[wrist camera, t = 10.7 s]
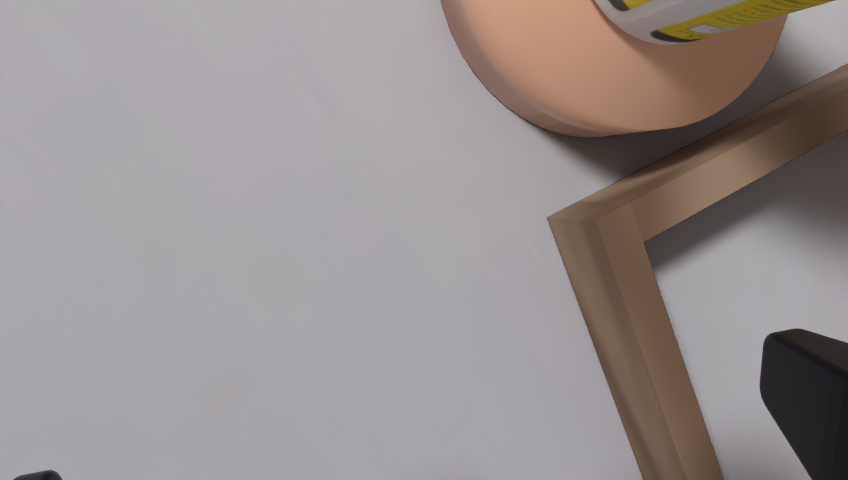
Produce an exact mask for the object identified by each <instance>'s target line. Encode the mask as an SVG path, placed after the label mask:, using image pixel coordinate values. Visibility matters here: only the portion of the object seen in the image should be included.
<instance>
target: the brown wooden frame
mask: <svg viewBox="0 0 848 480" xmlns="http://www.w3.org/2000/svg"><path fill="white" fill-rule="evenodd" d="M847 129H848V64H846V65H844V66H842V67H840V68H838V69H836V70H834V71H832V72H830V73H828V74H826V75H825V76H823V77H821V78H819V79H817V80H815V81H813V82H811V83H809V84H807V85H805V86H803V87H801V88H799V89H797V90H795V91H793V92H791V93H789V94H787V95H785V96H784V97H782V98H780V99H778V100H776V101H774V102H772V103H770V104H768V105H766V106H764V107H762V108H760V109H758V110H756V111H754V112H752V113H750V114H748V115H746V116H744V117H742V118H741V119H739V120H737V121H735V122H733V123H731V124H729V125H727V126H725V127H723V128H721V129H719V130H717V131H715V132H713V133H711V134H709V135H707V136H705V137H703V138H701V139H700V140H698V141H696V142H694V143H692V144H690V145H688V146H686V147H684V148H682V149H680V150H678V151H676V152H674V153H672V154H670V155H668V156H666V157H664V158H662V159H660V160H659V161H657V162H655V163H653V164H651V165H649V166H647V167H645V168H643V169H641V170H639V171H637V172H635V173H633V174H631V175H629V176H627V177H625V178H623V179H621V180H619V181H618V182H616V183H614V184H612V185H610V186H608V187H606V188H604V189H602V190H600V191H598V192H596V193H594V194H592V195H590V196H588V197H586V198H584V199H582V200H580V201H578V202H577V203H575V204H573V205H571V206H569V207H567V208H565V209H563V210H561V211H559V212H557V213H555V214H553V215H551V216H549V217H547V219H548V222H549V225H550V227H551V230H552V233H553V236H554V238H555V241H556V244H557V246H558V249H559V252H560V255H561V257H562V260H563V263H564V265H565V268H566V271H567V274H568V276H569V279H570V282H571V284H572V287H573V290H574V293H575V295H576V298H577V301H578V303H579V306H580V309H581V312H582V314H583V317H584V320H585V322H586V325H587V328H588V331H589V333H590V336H591V339H592V341H593V344H594V347H595V350H596V352H597V355H598V358H599V360H600V363H601V366H602V369H603V371H604V374H605V377H606V379H607V382H608V385H609V388H610V390H611V393H612V396H613V398H614V401H615V404H616V407H617V409H618V412H619V415H620V417H621V420H622V423H623V426H624V428H625V431H626V434H627V436H628V439H629V442H630V445H631V447H632V450H633V453H634V455H635V458H636V461H637V464H638V466H639V469H640V472H641V474H642V477H643V480H724V478H723V475H722V472H721V469H720V466H719V463H718V460H717V457H716V454H715V451H714V449H713V446H712V443H711V440H710V437H709V434H708V431H707V428H706V425H705V422H704V419H703V416H702V413H701V410H700V407H699V404H698V402H697V399H696V396H695V393H694V390H693V387H692V384H691V381H690V378H689V375H688V372H687V369H686V366H685V363H684V360H683V357H682V355H681V352H680V349H679V346H678V343H677V340H676V337H675V334H674V331H673V328H672V325H671V322H670V319H669V316H668V313H667V310H666V308H665V305H664V302H663V299H662V296H661V293H660V290H659V287H658V284H657V281H656V278H655V275H654V272H653V269H652V266H651V263H650V261H649V258H648V255H647V252H646V249H645V246H644V243H643V242H645V241H647V240H649V239H650V238H652V237H654V236H656V235H658V234H659V233H661V232H663V231H665V230H667V229H668V228H670V227H672V226H674V225H676V224H677V223H679V222H681V221H683V220H685V219H687V218H688V217H690V216H692V215H694V214H696V213H697V212H699V211H701V210H703V209H705V208H706V207H708V206H710V205H712V204H714V203H715V202H717V201H719V200H721V199H723V198H724V197H726V196H728V195H730V194H732V193H733V192H735V191H737V190H739V189H741V188H742V187H744V186H746V185H748V184H750V183H752V182H753V181H755V180H757V179H759V178H761V177H762V176H764V175H766V174H768V173H770V172H771V171H773V170H775V169H777V168H779V167H780V166H782V165H784V164H786V163H788V162H789V161H791V160H793V159H795V158H797V157H798V156H800V155H802V154H804V153H806V152H807V151H809V150H811V149H813V148H815V147H817V146H818V145H820V144H822V143H824V142H826V141H827V140H829V139H831V138H833V137H835V136H836V135H838V134H840V133H842V132H844V131H845V130H847Z"/></svg>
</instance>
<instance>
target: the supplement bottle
mask: <svg viewBox="0 0 848 480" xmlns="http://www.w3.org/2000/svg"><path fill="white" fill-rule="evenodd" d="M594 1H595V2H596V4H597V5H598V6H599V8H600V9H601V10H602V11H603V13H604V14H605V15H606V16H607V17H608V18H609V19H610V20H611V21H612V22H613V23H614V24H615V25H617V26H618V27H619V28H620V29H622V30H623V31H625V32H626V33H628V34H630V35H631V36H633V37H635V38H638V39H640V40H642V41H646V42H649V43H654V44H659V45H677V44H684V43H688V42H692V41H697V40H700V39H704V38H707V37H711V36H715V35H718V34H721V33H725V32H728V31H731V30H735V29H738V28H741V27H745V26H748V25H751V24H755V23H758V22H762V21H765V20H769V19H772V18H776V17H779V16H782V15H786V14H789V13H793V12H796V11H799V10H803V9H806V8H810V7H813V6H817V5H821V4H824V3H827V2H830V1H834V0H594Z"/></svg>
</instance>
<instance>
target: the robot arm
mask: <svg viewBox="0 0 848 480" xmlns="http://www.w3.org/2000/svg"><path fill="white" fill-rule="evenodd" d="M760 393H761V397H762V399H763V402H764V404H765V406H766V407H767V409H768V411H769V412H770V414H771V415H772V417H773V419H774V420H775V422H776V423H777V425H778V427H779V428H780V430H781V431H782V433H783V434H784V436H785V438H786V439H787V441H788V442H789V444H790V446H791V447H792V449H793V450H794V452H795V453H796V455H797V457H798V458H799V460H800V461H801V463H802V465H803V466H804V468H805V469H806V471H807V472H808V474H809V476H810V477H811V479H812V480H848V343H846V342H843V341H839V340H836V339H833V338H829V337H826V336H823V335H820V334H816V333H813V332H810V331H807V330H803V329H790V330H785V331H780V332H774V333H771V334H769V335H768V336H767V337H766V339H765V341H764V345H763V354H762V365H761V376H760ZM14 480H62V478H61V477H60V475H59V474H58V473H57V472H55V471H52V470H47V471H41V472H36V473H31V474H25V475H21V476H19V477H16V478H15V479H14Z"/></svg>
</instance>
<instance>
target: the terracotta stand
mask: <svg viewBox="0 0 848 480" xmlns="http://www.w3.org/2000/svg"><path fill="white" fill-rule="evenodd" d="M441 4H442V9H443V12H444V14H445V17H446V20H447V23H448V26H449V29H450V31H451V34H452V36H453V38H454V40H455V42H456V44H457V46H458V48H459V50H460V52H461V54H462V55H463V57H464V59H465V60H466V62H467V63H468V65H469V66H470V68H471V69H472V71H473V72H474V74H475V75H476V76H477V77H478V79H479V80H480V81H481V82H482V83H483V85H484V86H485V87H486V88H487V89H488V91H489V92H491V93H492V94H493V95H494V96H495V97H496V98H497V99H498V100H499V101H500V102H501V103H502V104H503V105H505V106H506V107H507V108H509V109H510V110H512V111H513V112H514V113H516V114H517V115H519V116H520V117H521V118H523V119H525V120H527V121H529V122H531V123H533V124H535V125H537V126H539V127H541V128H544V129H547V130H550V131H552V132H555V133H559V134H564V135H569V136H574V137H593V138H594V137H603V136H611V135H619V134H628V133H636V132H644V131H652V130H660V129H669V128H677V127H682V126H685V125H689V124H692V123H695V122H698V121H701V120H703V119H705V118H707V117H709V116H711V115H713V114H715V113H717V112H718V111H720V110H721V109H723V108H724V107H726V106H727V105H729V104H730V103H732V102H733V101H734V100H735V99H736V98H737V97H738V96H739V95H740V94H742V93H743V92H744V91H745V90H746V89H747V88H748V87H749V85H750V84H751V83H752V82H753V81H754V79H755V78H756V77H757V76H758V75H759V73H760V72H761V70H762V69H763V67H764V66H765V64H766V62H767V61H768V59H769V58H770V56H771V54H772V52H773V50H774V48H775V46H776V44H777V42H778V40H779V38H780V35H781V32H782V29H783V27H784V24H785V21H786V18H787V15H788V14H786V15H782V16H779V17H776V18H772V19H769V20H765V21H762V22H758V23H755V24H751V25H748V26H745V27H741V28H738V29H735V30H731V31H728V32H725V33H721V34H718V35H715V36H711V37H707V38H704V39H700V40H697V41H692V42H688V43H684V44H677V45H659V44H654V43H649V42H646V41H642V40H640V39H638V38H635V37H633V36H631V35H630V34H628V33H626V32H625V31H623V30H622V29H620V28H619V27H618V26H617V25H615V24H614V23H613V22H612V21H611V20H610V19H609V18H608V17H607V16H606V15H605V14H604V13H603V11H602V10H601V9H600V8H599V6H598V5H597V4H596V2H595V1H594V0H441Z"/></svg>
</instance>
